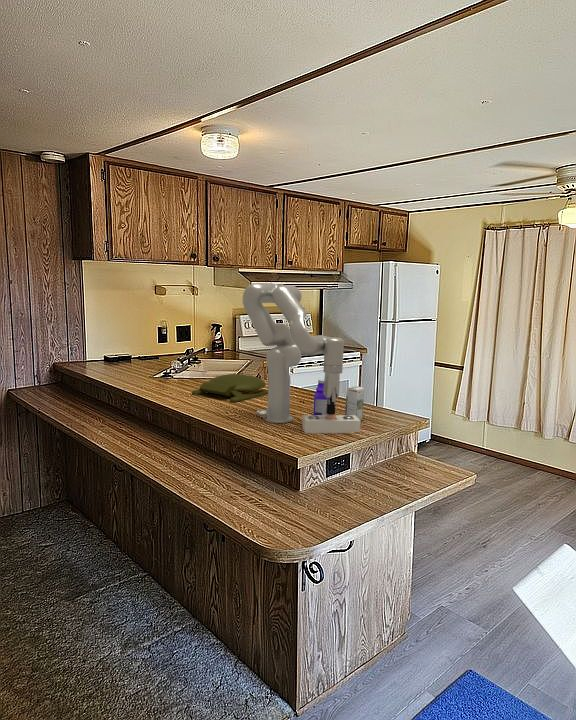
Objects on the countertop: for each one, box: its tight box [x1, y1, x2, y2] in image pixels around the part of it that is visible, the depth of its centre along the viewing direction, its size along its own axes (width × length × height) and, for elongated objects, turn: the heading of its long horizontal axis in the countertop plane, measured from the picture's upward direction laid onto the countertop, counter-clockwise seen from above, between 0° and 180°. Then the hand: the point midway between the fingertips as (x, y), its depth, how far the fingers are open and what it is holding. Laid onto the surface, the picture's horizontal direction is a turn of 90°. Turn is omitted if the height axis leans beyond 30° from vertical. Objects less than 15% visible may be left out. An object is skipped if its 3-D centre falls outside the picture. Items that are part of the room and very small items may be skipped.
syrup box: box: [344, 385, 365, 421], centre depth 232 cm, size 6×6×14 cm
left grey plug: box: [309, 414, 318, 419], centre depth 215 cm, size 4×4×5 cm
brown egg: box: [327, 413, 337, 419], centre depth 216 cm, size 4×4×5 cm
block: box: [301, 414, 362, 434], centre depth 216 cm, size 22×9×5 cm, turn 95°
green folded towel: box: [190, 373, 268, 403], centre depth 282 cm, size 35×31×10 cm
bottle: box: [312, 378, 328, 415], centre depth 233 cm, size 7×6×17 cm
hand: (330, 413), depth 215 cm, fingers closed
